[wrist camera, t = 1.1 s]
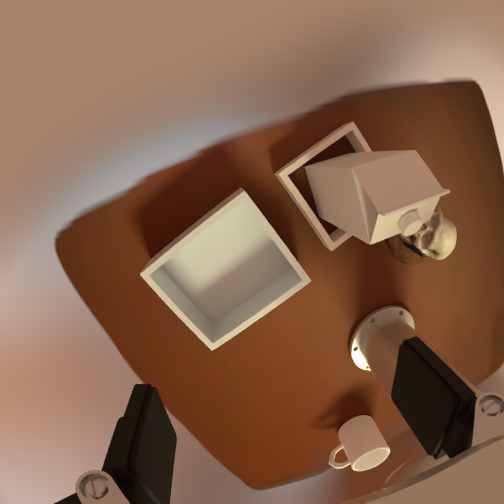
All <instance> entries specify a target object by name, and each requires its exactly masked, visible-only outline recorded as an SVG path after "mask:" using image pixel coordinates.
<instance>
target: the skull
mask: <svg viewBox="0 0 504 504" xmlns="http://www.w3.org/2000/svg"><path fill="white" fill-rule="evenodd" d="M456 237H457V235H456V228H455V226H454V224H453V223H452V222H451V221H450V220H448V219H446V218H444V217H443V213H442V209H441V206H440V203H439V201H438V203H437V205H436V207H435V210H434V212H433V214H432V216H431V218H430V220H429V221H428V222H426V223H423V225H422V227H421V228H420V229H419V230H418V231H417V232H416V233H414V234H412V235H410V236H404V235H403V233H399V234H397V235H394V236H392V237H389V238H388V243H389V247H390V249H391V252H392V253H393V255H394V256H395V257H396V258H397V259H398V260H399V261H401V262H403V263H405V264H416V263H419V262H421V261H423V260H424V259H426V258H427V257H431V258H433V259H436V260H441V259H444V258H446V257H447V256H448V255H449V254H450V253H451V252H452V250H453V249H454V247H455V244H456ZM422 253H423V254H424V255H427V256H426V257H423V254H422Z"/></svg>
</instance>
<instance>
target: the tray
mask: <svg viewBox="0 0 504 504" xmlns="http://www.w3.org/2000/svg"><path fill="white" fill-rule="evenodd" d="M344 135H345V136H346V137H347V139H348V140H349V142H350V143H351V145H352V147H353V148H354V150H355V151H356V153H359V152H372V151H371V149H370V147H369V146H368V144H367V142H366V141H365V139H364V137H363V136H362V134H361V133H360V131H359V130H358V128H357V126H356V125H355V123H354V122H350V123H346V124H344V125H342V126H341V127H339V128H338V129H336V130H335V131H333V132H332V133H330V134H329V135H327V136H326V137H325V138H323V139H322V140H320V141H319V142H317V143H316V144H314V145H313V146H312V147H310V148H309V149H307V150H306V151H305V152H303V153H302V154H300V155H299V156H297V157H296V158H295V159H293V160H292V161H290V162H289V163H288V164H286V165H285V166H283V167H282V168H281V169H279V170H278V171H277V172H275V173H274V175H275V176H276V177H277V179H278V180H279V181H280V183H281V184H282V186H283V187H284V188H285V190H286V191H287V192H288V194H289V195H290V197H291V198H292V200H293V201H294V202H295V204H296V205H297V207H298V208H299V209H300V211H301V212H302V214H303V215H304V217H305V218H306V220H307V221H308V222H309V224H310V225H311V227H312V228H313V230H314V231H315V233H316V234H317V236H318V237H319V239H320V240H321V242H322V243H323V245H324V246H325V247H327V248H328V249H329V250H330V251H333V250H334V249H335V248H337V247H338V246H339V245H341V244H342V243H343V242H344V241H346V240H347V239H348V238H350V237H351V236H352V235H351V234H350V233H348V232H346V231H344V230H342V229H340V228H337V229H336V230H335V231H334V232H332V233H331V234H330V235H328V234H327V232H326V231H325V229H324V228H323V226H322V225H321V223H320V222H319V220H318V219H317V217H316V216H315V214H314V213H313V211H312V210H311V208H310V207H309V206H308V204H307V203H306V201H305V200H304V198H303V197H302V195H301V194H300V192H299V191H298V190H297V188H296V187H295V185H294V184H293V183H292V181H291V180H290V178H289V177H288V175H289V174H290V173H292V172H293V171H294V170H296V169H297V168H299V167H300V166H301V165H303V164H304V163H306V162H307V161H308V160H310V159H311V158H313V157H314V156H315V155H317V154H318V153H320V152H321V151H322V150H324V149H325V148H327V147H328V146H330V145H331V144H332V143H334V142H335V141H337V140H338V139H340V138H341V137H342V136H344Z"/></svg>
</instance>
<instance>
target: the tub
mask: <svg viewBox="0 0 504 504" xmlns="http://www.w3.org/2000/svg"><path fill="white" fill-rule="evenodd" d="M140 275H141V276H142V277H143V279H144V280H145V281H146V282H147V283H148V284H149V285H150V286H151V288H152V289H153V290H154V291H155V292H156V293H157V294H158V295H159V296H160V297H161V299H162V300H163V301H164V302H165V303H166V304H167V305H168V306H169V307H170V308H171V309H172V310H173V311H174V313H175V314H176V315H177V316H178V317H179V318H180V319H181V320H182V321H183V322H184V323H185V324H186V325H187V326H188V327H189V328H190V329H191V330H192V331H193V332H194V333H195V334H196V335H197V336H198V337H199V338H200V339H201V340H202V341H203V342H204V343H205V344H206V345H207V346H208V347H209V348H210V349H211V350H212V351H213V350H214V349H216V348H217V347H219V346H220V345H222V344H223V343H225V342H226V341H228V340H229V339H230V338H232V337H233V336H235V335H236V334H238V333H239V332H241V331H242V330H244V329H245V328H247V327H248V326H250V325H251V324H252V323H254V322H255V321H257V320H258V319H260V318H261V317H262V316H264V315H265V314H267V313H268V312H269V311H271V310H272V309H274V308H275V307H277V306H278V305H279V304H281V303H282V302H283V301H285V300H286V299H288V298H289V297H290V296H292V295H293V294H294V293H296V292H297V291H299V290H300V289H301V288H303V287H304V286H305V285H307V284H308V283H309V282H311V280H310V278H309V277H308V275H307V274H306V273H305V271H304V270H303V269H302V267H301V266H300V264H299V263H298V262H297V260H296V259H295V258H294V256H293V255H292V253H291V252H290V251H289V249H288V248H287V247H286V245H285V244H284V243H283V241H282V240H281V238H280V237H279V236H278V234H277V233H276V232H275V230H274V229H273V228H272V226H271V225H270V224H269V222H268V221H267V220H266V218H265V217H264V216H263V214H262V213H261V212H260V210H259V209H258V208H257V206H256V205H255V204H254V202H253V201H252V200H251V198H250V197H249V196H248V194H247V193H246V192H245V191H244V190H243V189H242V188H241V187H240V188H239V189H238V190H237V191H235V192H234V193H233V194H231V195H230V196H229V197H227V198H226V199H225V200H223V201H222V202H221V203H219V204H218V205H217V206H216V207H214V208H213V209H212V210H210V211H209V212H208V213H207V214H205V215H204V216H203V217H202V218H200V219H199V220H198V221H197V222H195V223H194V224H193V225H191V226H190V227H189V228H188V229H186V230H185V231H184V232H183V233H182V234H180V235H179V236H178V237H177V238H175V239H174V240H173V241H172V242H170V243H169V244H168V245H167V246H166V247H164V248H163V249H162V250H161V251H160V252H158V253H157V254H156V255H155V256H154V257H152V258H151V259H150V261H149V262H148V263H147V265H146V266H145V268H144V269H143V270H142V272H141V273H140Z"/></svg>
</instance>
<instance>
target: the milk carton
mask: <svg viewBox="0 0 504 504" xmlns="http://www.w3.org/2000/svg"><path fill="white" fill-rule="evenodd" d="M304 168H305V171H306V174H307V177H308V181H309V184H310V187H311V191H312V194H313V198H314V201H315V204H316V208H317V211H318V215H319V217H320V218H322V219H324V220H325V221H327V222H329V223H331V224H333V225H335V226H337V227H339V228H340V229H342V230H344V231H346V232H348V233H350V234H351V235H353V236H355V237H357V238H359V239H360V240H362V241H364V242H366V243H368V244H374V243H376V242H379V241H382V240H384V239H387V238H389V237H392V236H394V235H397V234H399V233H403V235H404V236H410V235H412V234H414V233H416V232H417V231H418V230H419V229H420V228H421V227H422V225H423V223H426V222H428V221H429V220H430V218H431V216H432V214H433V212H434V210H435V207H436V205H437V203H438V201H439V198H440V196H442V195H445V194H448V193H450V190H447V189H442V187H441V186H440V184H439V183H438V181H437V180H436V178H435V177H434V175H433V174H432V172H431V171H430V169H429V168H428V167H427V165H426V164H425V162H424V161H423V160H422V158H421V157H420V156H419V154H418V153H417V152H416V150H400V151H376V152H359V153H349V154H345V155H341V156H338V157H334V158H331V159H327V160H324V161H321V162H317V163H314V164H311V165H307V166H305V167H304Z"/></svg>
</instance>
